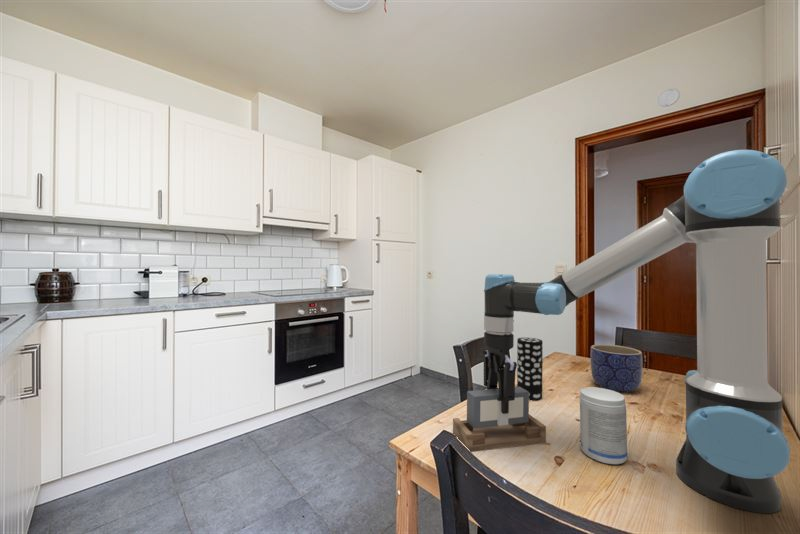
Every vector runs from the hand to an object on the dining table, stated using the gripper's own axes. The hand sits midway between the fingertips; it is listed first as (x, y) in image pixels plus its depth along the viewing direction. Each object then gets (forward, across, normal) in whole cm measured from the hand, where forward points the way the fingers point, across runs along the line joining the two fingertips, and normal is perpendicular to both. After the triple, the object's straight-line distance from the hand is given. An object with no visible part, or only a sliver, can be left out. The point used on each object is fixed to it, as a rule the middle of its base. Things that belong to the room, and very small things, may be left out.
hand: (497, 419), depth 85 cm
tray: (+5, 0, 0) cm, 5 cm away
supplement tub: (+5, -12, -21) cm, 25 cm away
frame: (0, 0, 0) cm, 0 cm away
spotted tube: (+5, +24, -26) cm, 36 cm away
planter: (+5, +25, -64) cm, 69 cm away
